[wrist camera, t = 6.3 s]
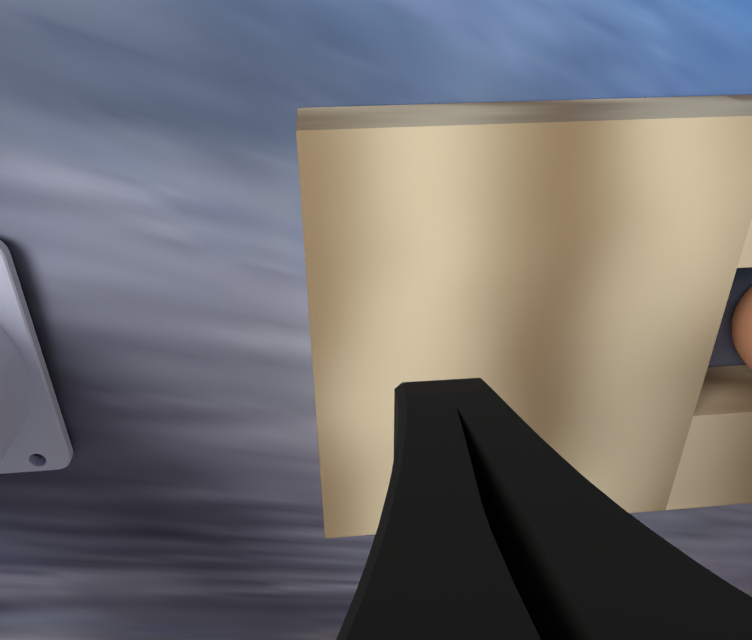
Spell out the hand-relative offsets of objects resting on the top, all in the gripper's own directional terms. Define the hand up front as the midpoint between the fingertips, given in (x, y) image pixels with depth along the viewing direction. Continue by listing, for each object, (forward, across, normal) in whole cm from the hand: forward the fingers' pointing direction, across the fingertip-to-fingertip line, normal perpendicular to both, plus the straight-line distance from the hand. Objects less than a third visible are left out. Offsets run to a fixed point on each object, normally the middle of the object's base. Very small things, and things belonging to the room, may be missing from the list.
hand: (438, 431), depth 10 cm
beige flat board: (+9, -7, +3) cm, 12 cm away
